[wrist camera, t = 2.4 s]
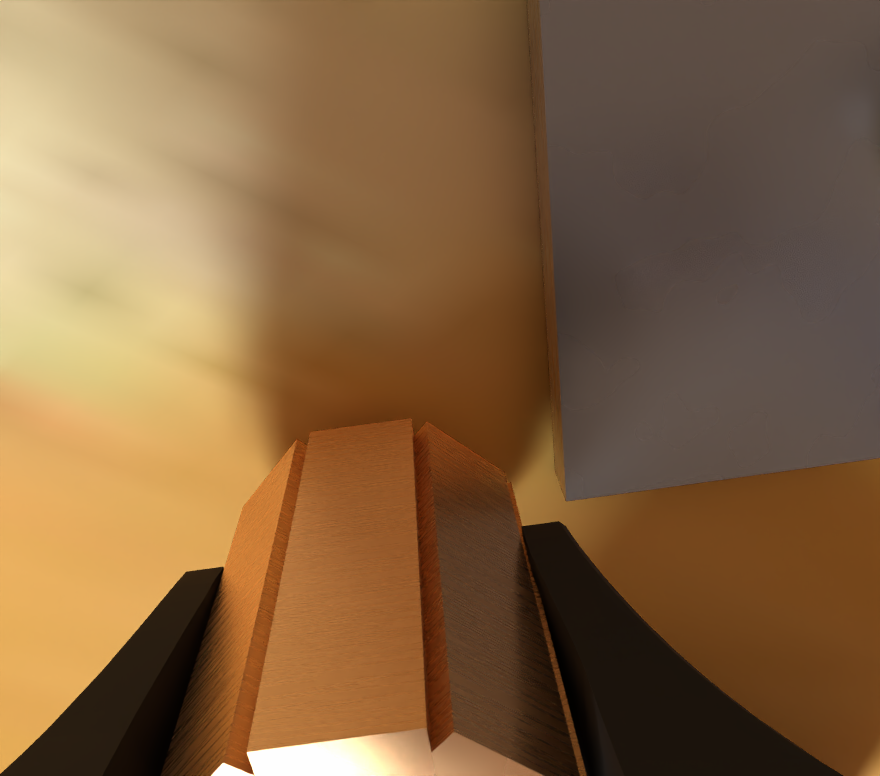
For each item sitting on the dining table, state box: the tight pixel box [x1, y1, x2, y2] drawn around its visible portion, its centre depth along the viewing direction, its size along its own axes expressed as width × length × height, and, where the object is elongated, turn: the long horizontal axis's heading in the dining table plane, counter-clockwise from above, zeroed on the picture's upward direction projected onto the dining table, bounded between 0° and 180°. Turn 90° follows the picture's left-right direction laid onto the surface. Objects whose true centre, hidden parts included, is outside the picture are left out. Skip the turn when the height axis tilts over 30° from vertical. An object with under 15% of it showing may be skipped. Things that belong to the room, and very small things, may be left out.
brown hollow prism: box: [161, 418, 587, 776], centre depth 11 cm, size 5×5×6 cm
